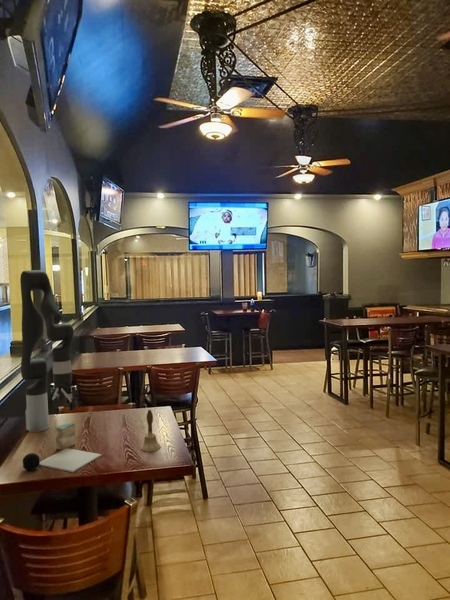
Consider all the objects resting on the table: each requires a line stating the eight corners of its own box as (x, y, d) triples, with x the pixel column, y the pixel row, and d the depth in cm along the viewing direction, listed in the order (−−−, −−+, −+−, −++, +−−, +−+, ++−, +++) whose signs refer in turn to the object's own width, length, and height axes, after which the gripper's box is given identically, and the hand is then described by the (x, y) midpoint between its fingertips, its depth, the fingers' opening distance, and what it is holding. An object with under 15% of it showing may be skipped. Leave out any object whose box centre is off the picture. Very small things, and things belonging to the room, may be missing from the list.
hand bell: (164, 445, 193) (162, 407, 192) (154, 452, 186) (153, 414, 184) (146, 443, 196) (145, 406, 195) (136, 450, 188) (135, 412, 187)
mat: (36, 465, 176) (36, 463, 176) (66, 449, 191) (66, 448, 191) (73, 472, 169) (73, 470, 169) (101, 455, 184) (101, 454, 184)
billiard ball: (21, 468, 174) (20, 453, 173) (38, 464, 177) (37, 449, 176) (24, 474, 168) (23, 458, 168) (41, 470, 172) (40, 454, 171)
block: (56, 448, 193) (55, 427, 192) (68, 442, 199) (67, 422, 198) (63, 449, 191) (62, 428, 190) (75, 443, 197) (74, 423, 197)
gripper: (42, 372, 192) (44, 410, 193) (69, 374, 186) (71, 413, 187) (55, 368, 199) (57, 405, 200) (81, 370, 193) (83, 408, 194)
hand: (64, 409), depth 194 cm, fingers open, 8 cm apart
